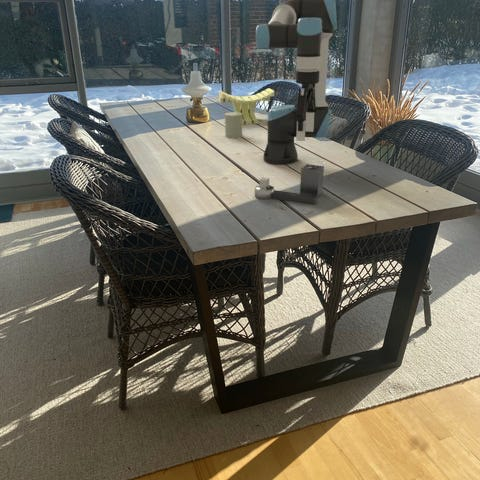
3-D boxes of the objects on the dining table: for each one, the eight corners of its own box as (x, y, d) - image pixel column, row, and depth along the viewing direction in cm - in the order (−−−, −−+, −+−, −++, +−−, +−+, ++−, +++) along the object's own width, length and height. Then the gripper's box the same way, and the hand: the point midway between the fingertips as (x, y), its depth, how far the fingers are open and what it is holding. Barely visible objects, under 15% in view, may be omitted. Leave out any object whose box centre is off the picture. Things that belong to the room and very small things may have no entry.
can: (241, 138, 254) (240, 114, 249) (223, 137, 256) (222, 114, 250) (243, 133, 262) (243, 111, 257) (226, 133, 264) (226, 111, 259)
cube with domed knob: (305, 190, 181) (306, 163, 176) (322, 192, 178) (324, 165, 174) (299, 196, 175) (301, 168, 171) (317, 198, 173) (318, 170, 168)
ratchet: (259, 191, 180) (259, 174, 177) (318, 200, 171) (319, 182, 169) (251, 197, 175) (251, 180, 172) (312, 206, 166) (313, 188, 163)
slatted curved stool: (268, 117, 301) (268, 87, 293) (274, 122, 287) (274, 91, 279) (219, 119, 297) (218, 89, 289) (223, 125, 282) (222, 93, 275)
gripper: (305, 65, 169) (302, 127, 178) (286, 74, 148) (285, 143, 157) (326, 66, 167) (323, 128, 176) (311, 75, 145) (308, 145, 155)
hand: (305, 135), depth 166 cm, fingers open, 13 cm apart
